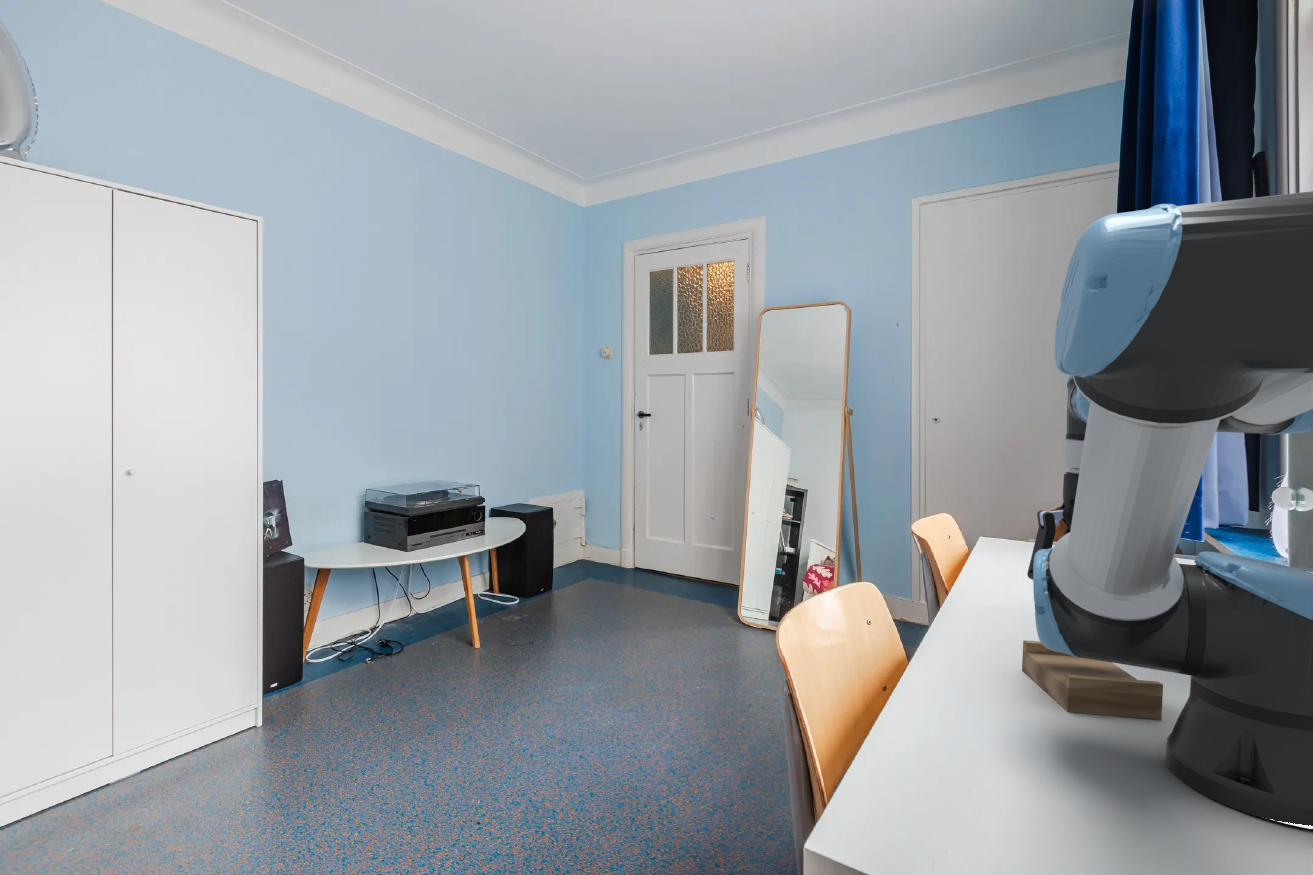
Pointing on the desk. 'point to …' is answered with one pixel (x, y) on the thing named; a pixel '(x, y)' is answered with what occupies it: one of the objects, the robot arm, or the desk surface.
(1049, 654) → the wooden tray
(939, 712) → the desk surface
